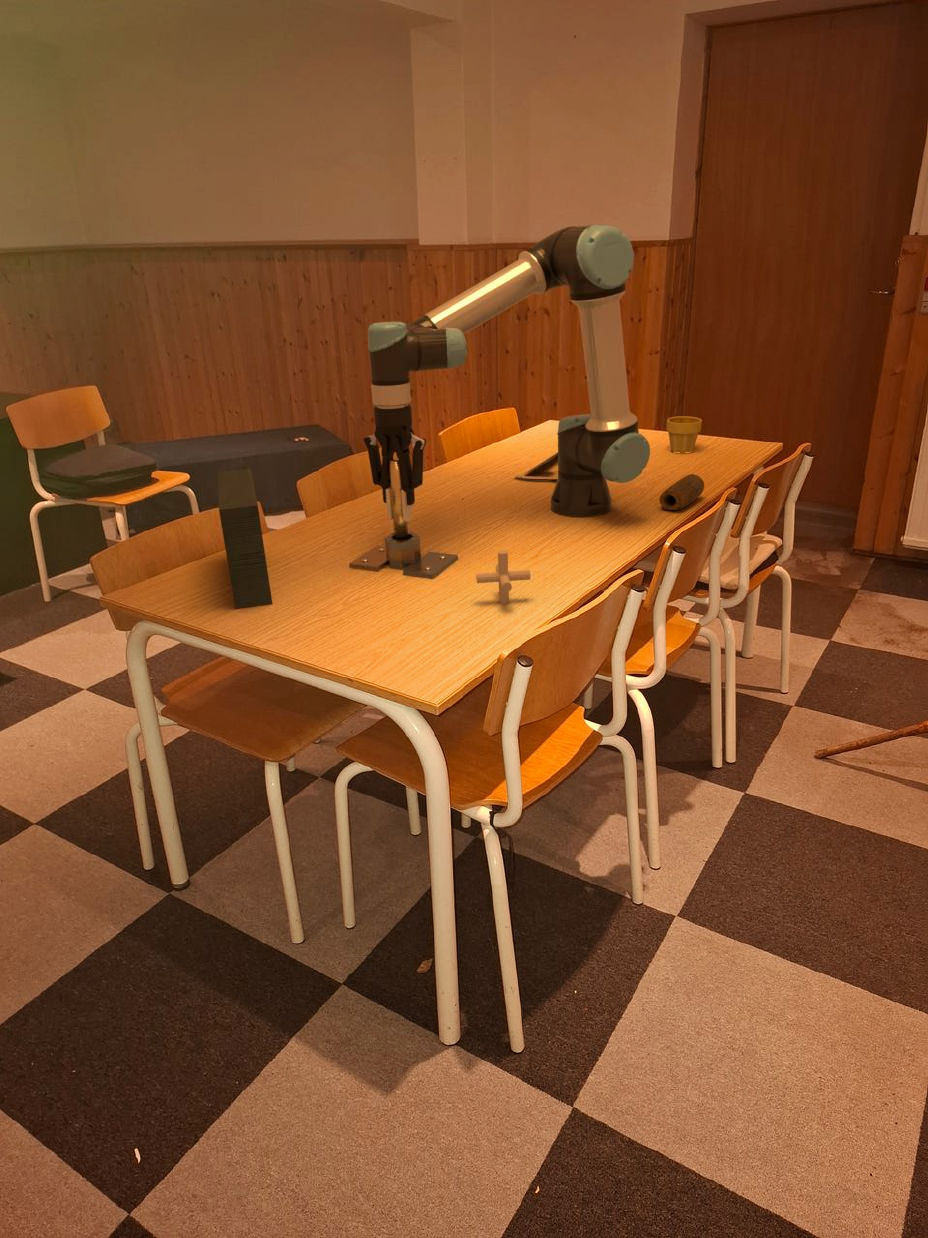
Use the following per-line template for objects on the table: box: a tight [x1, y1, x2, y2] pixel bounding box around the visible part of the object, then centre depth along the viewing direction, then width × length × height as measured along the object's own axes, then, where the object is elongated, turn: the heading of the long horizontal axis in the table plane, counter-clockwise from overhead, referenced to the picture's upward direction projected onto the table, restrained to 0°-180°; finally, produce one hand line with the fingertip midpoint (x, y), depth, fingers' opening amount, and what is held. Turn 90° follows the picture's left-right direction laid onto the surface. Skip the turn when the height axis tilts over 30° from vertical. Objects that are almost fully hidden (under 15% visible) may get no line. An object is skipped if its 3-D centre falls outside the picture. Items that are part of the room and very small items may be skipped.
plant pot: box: [665, 415, 703, 453], centre depth 258 cm, size 10×10×10 cm
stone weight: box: [659, 473, 705, 511], centre depth 209 cm, size 15×7×7 cm, turn 147°
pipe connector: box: [475, 549, 531, 604], centre depth 158 cm, size 10×10×10 cm
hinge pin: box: [389, 457, 409, 537], centre depth 174 cm, size 3×3×16 cm
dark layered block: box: [217, 468, 273, 610], centre depth 171 cm, size 29×7×20 cm, turn 15°
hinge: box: [348, 531, 459, 580], centre depth 179 cm, size 20×12×6 cm, turn 65°
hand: (400, 518), depth 176 cm, fingers closed on hinge pin, 3 cm apart
